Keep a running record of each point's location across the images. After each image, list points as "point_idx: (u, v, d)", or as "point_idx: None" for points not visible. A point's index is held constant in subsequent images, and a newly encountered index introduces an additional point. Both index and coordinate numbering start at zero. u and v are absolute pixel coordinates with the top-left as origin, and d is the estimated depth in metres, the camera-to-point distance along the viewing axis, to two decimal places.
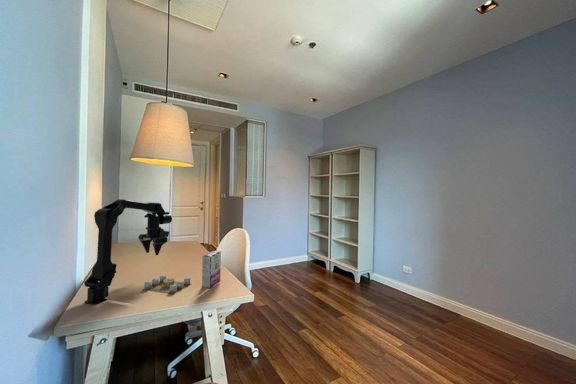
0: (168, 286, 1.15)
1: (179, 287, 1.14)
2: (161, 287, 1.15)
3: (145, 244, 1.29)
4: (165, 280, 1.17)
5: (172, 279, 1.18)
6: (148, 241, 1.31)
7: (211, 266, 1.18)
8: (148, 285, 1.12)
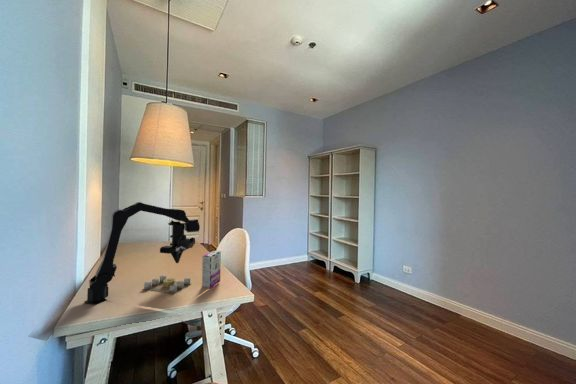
0: (168, 286, 1.15)
1: (179, 287, 1.14)
2: (161, 287, 1.15)
3: None
4: (165, 280, 1.17)
5: (172, 279, 1.18)
6: None
7: (211, 266, 1.18)
8: (148, 285, 1.12)
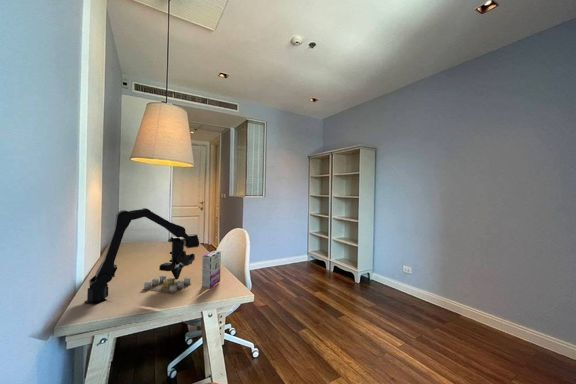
0: (168, 286, 1.15)
1: (179, 287, 1.14)
2: (161, 287, 1.15)
3: None
4: (165, 280, 1.17)
5: (172, 279, 1.18)
6: None
7: (211, 266, 1.18)
8: (148, 285, 1.12)
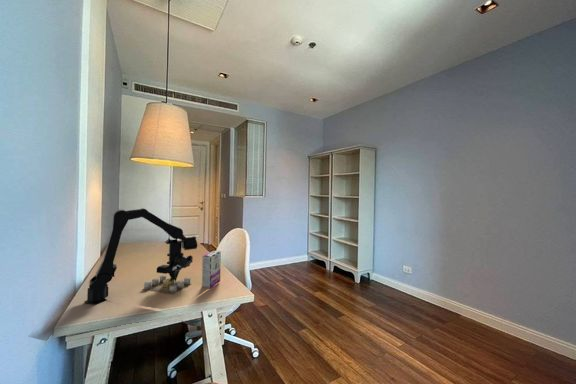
0: (168, 286, 1.15)
1: (179, 287, 1.14)
2: (161, 287, 1.15)
3: None
4: (165, 280, 1.16)
5: (172, 279, 1.18)
6: None
7: (211, 266, 1.18)
8: (148, 285, 1.12)
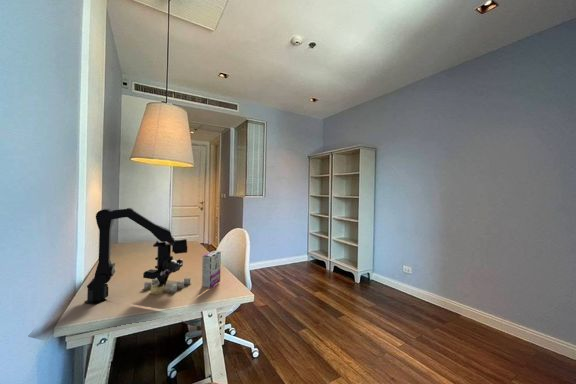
0: (156, 292, 1.07)
1: (179, 287, 1.14)
2: None
3: None
4: (153, 286, 1.09)
5: (161, 285, 1.11)
6: None
7: (211, 266, 1.18)
8: (148, 285, 1.12)
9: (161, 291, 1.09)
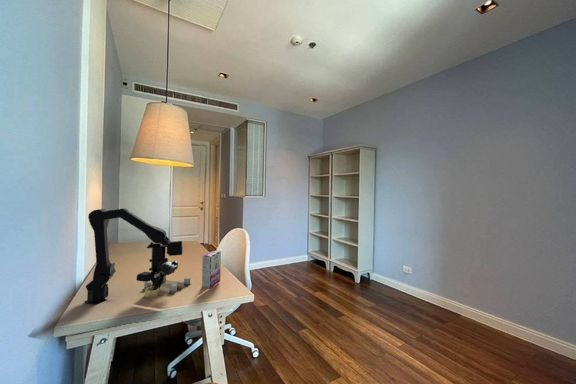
0: (150, 296, 1.04)
1: (179, 287, 1.14)
2: (161, 287, 1.15)
3: None
4: (147, 289, 1.06)
5: (155, 288, 1.07)
6: None
7: (211, 266, 1.18)
8: (148, 285, 1.12)
9: (155, 294, 1.05)
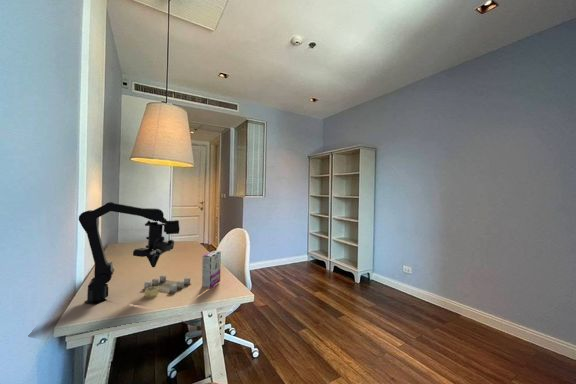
0: (150, 296, 1.04)
1: (179, 287, 1.14)
2: (161, 287, 1.15)
3: None
4: (147, 289, 1.06)
5: (155, 288, 1.07)
6: None
7: (211, 266, 1.18)
8: (148, 285, 1.12)
9: (155, 294, 1.05)
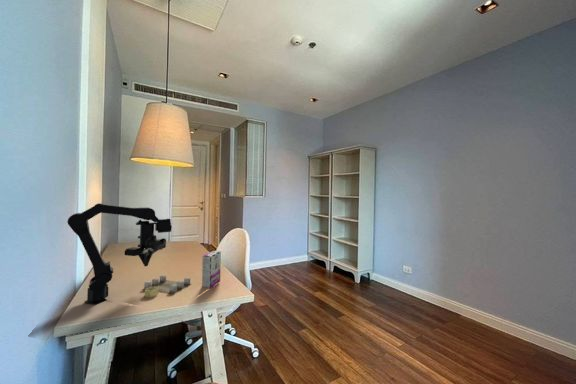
0: (150, 296, 1.04)
1: (179, 287, 1.14)
2: (161, 287, 1.15)
3: None
4: (147, 289, 1.06)
5: (155, 288, 1.07)
6: None
7: (211, 266, 1.18)
8: (148, 285, 1.12)
9: (155, 294, 1.05)
